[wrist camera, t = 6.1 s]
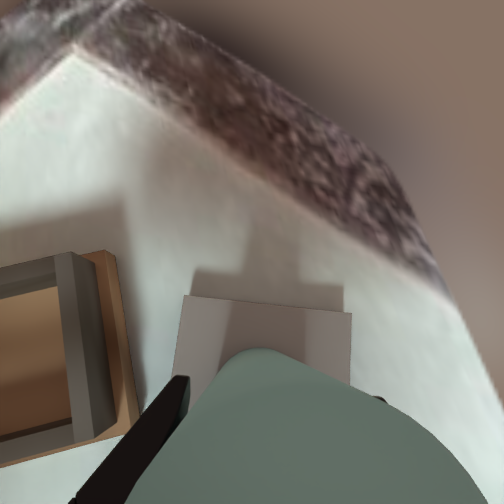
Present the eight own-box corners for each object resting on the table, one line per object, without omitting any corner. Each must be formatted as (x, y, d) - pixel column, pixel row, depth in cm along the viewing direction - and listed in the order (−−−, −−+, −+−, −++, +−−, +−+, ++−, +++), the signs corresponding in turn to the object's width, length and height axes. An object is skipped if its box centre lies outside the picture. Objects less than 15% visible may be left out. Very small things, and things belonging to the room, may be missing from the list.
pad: (336, 492, 17) (345, 507, 15) (162, 473, 17) (154, 486, 15) (343, 314, 19) (351, 313, 17) (188, 297, 19) (184, 295, 18)
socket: (141, 424, 17) (110, 450, 13) (-44, 474, 17) (-132, 517, 13) (114, 256, 19) (82, 236, 16) (-50, 293, 19) (-127, 283, 15)
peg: (274, 470, 15) (409, 1103, 3) (193, 411, 16) (-9, 705, 3) (323, 381, 16) (592, 537, 4) (246, 329, 17) (248, 309, 4)
